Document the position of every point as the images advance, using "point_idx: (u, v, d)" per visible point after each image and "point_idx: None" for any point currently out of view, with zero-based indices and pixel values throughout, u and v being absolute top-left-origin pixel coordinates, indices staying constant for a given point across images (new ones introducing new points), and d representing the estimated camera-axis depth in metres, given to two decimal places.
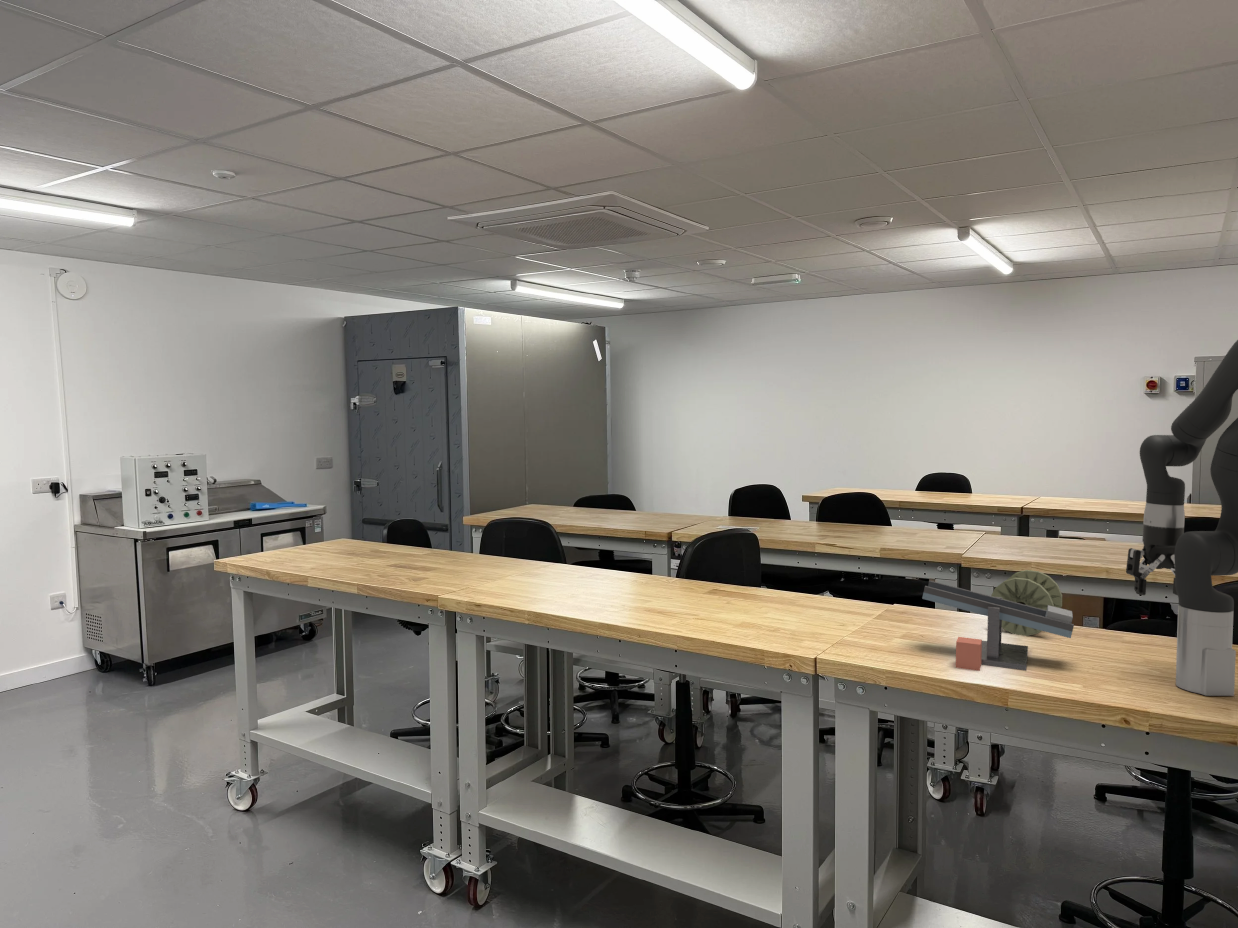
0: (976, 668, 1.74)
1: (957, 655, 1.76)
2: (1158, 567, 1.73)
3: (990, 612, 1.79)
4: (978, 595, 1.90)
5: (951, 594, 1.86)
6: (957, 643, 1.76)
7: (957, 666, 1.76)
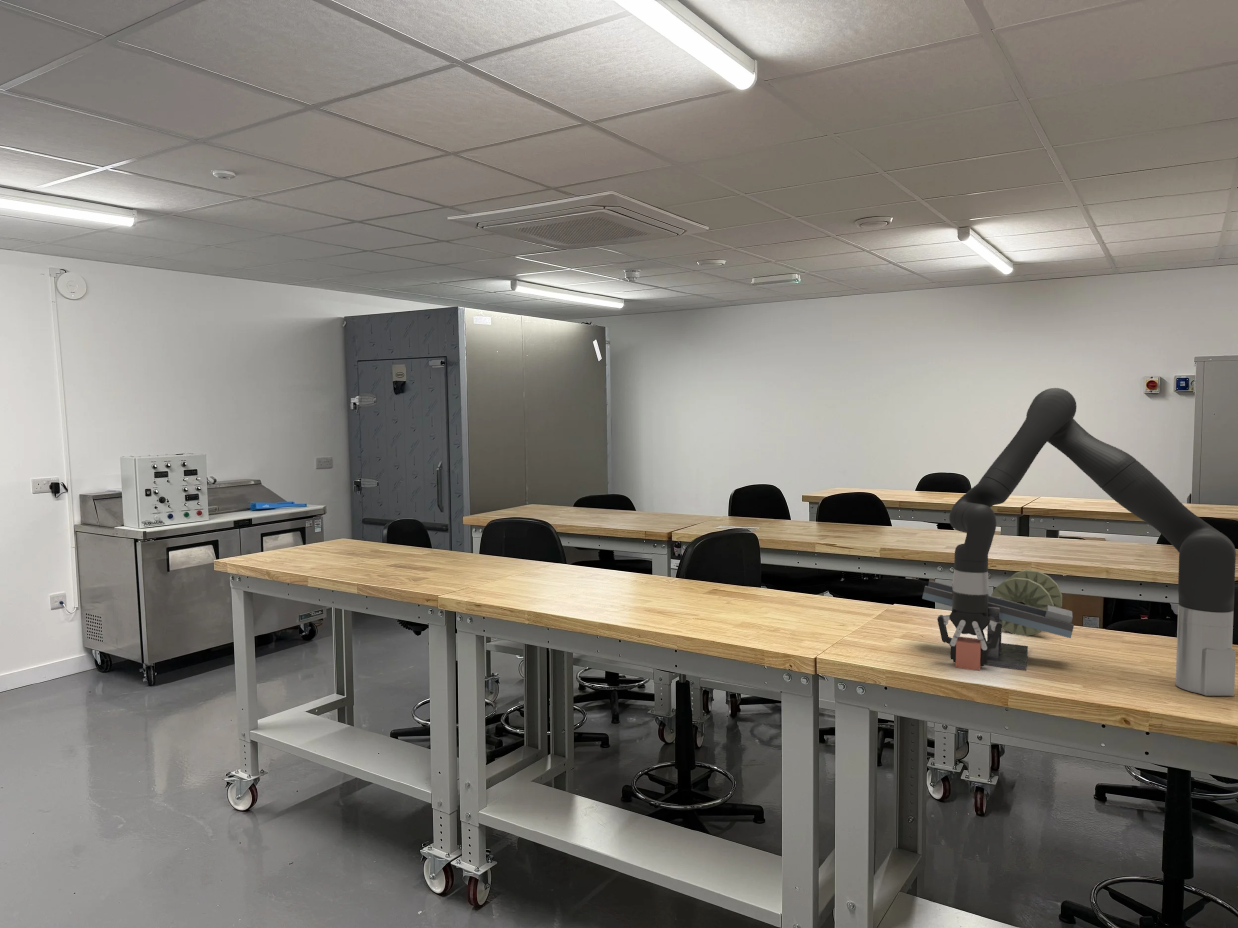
0: (976, 668, 1.74)
1: (957, 655, 1.76)
2: None
3: (990, 612, 1.79)
4: None
5: (951, 594, 1.86)
6: (957, 643, 1.76)
7: (957, 666, 1.76)
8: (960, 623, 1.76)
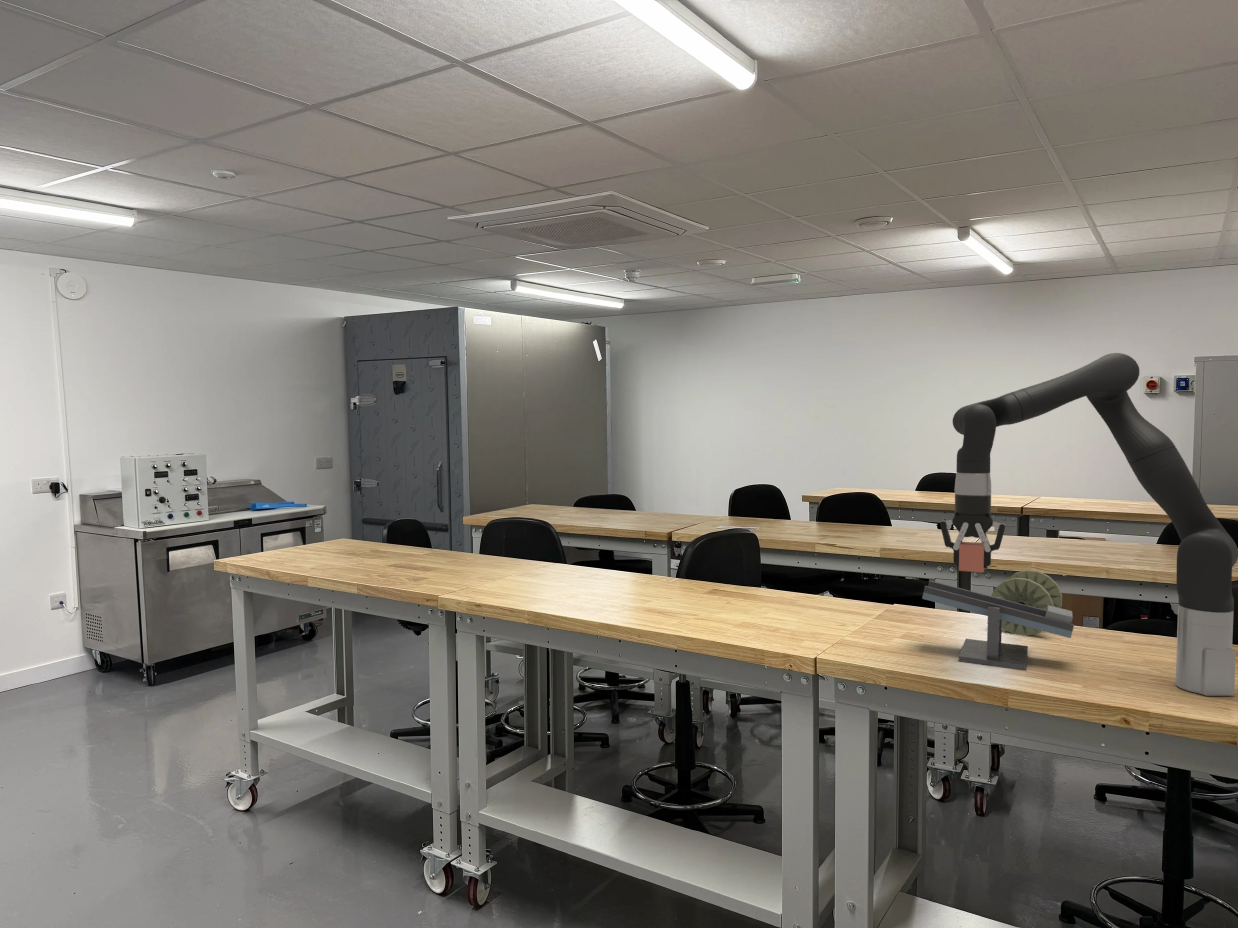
0: (979, 570, 1.73)
1: (960, 558, 1.75)
2: None
3: (990, 612, 1.79)
4: (978, 595, 1.90)
5: (951, 594, 1.86)
6: (960, 546, 1.75)
7: (960, 569, 1.75)
8: (963, 526, 1.75)
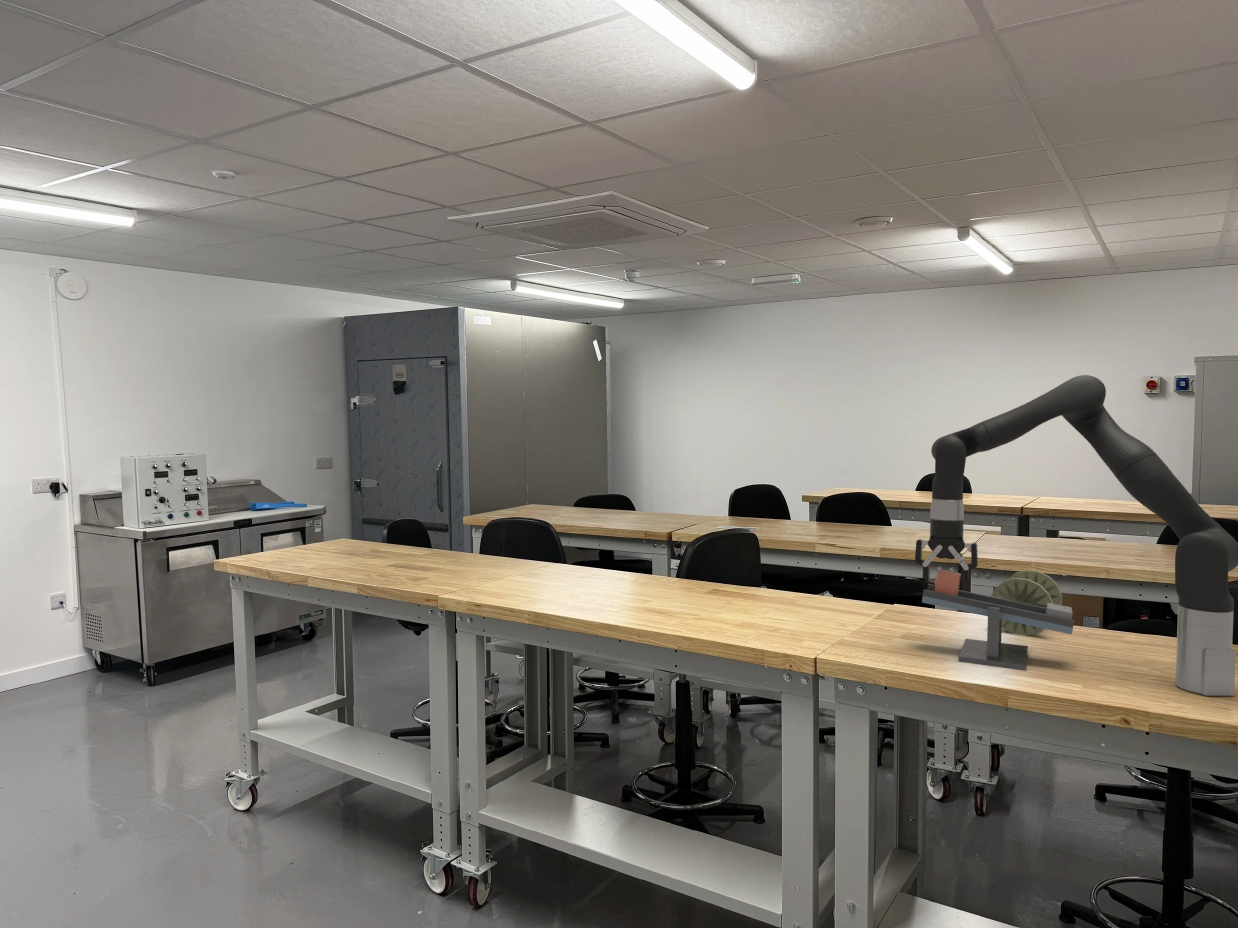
0: None
1: (936, 585, 1.89)
2: None
3: (990, 612, 1.79)
4: (978, 596, 1.90)
5: (950, 596, 1.86)
6: (938, 574, 1.89)
7: None
8: (937, 547, 1.89)
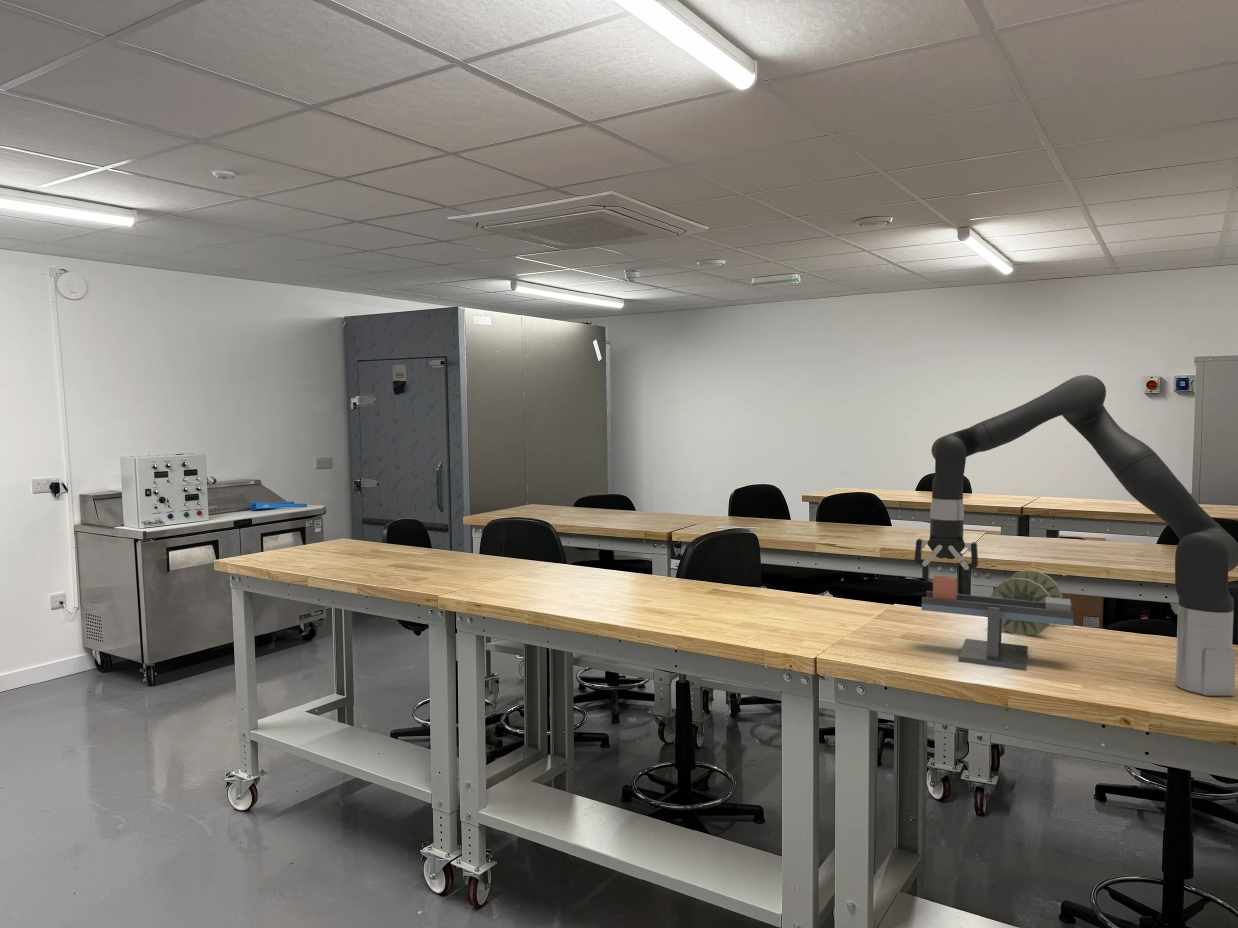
0: None
1: (934, 591, 1.89)
2: None
3: (990, 612, 1.79)
4: (977, 598, 1.90)
5: (949, 601, 1.86)
6: (934, 580, 1.89)
7: None
8: (937, 547, 1.89)
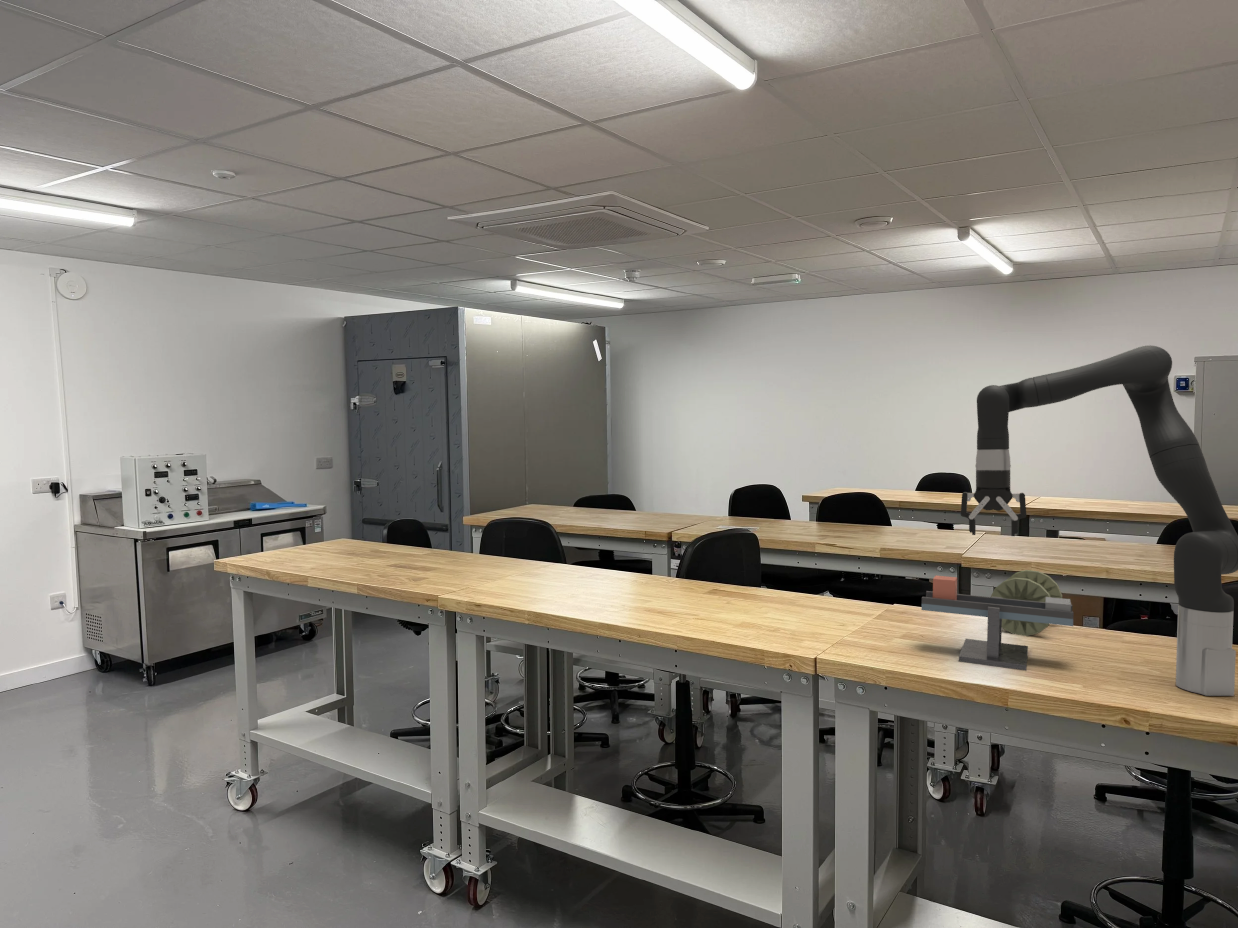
0: None
1: (934, 591, 1.89)
2: None
3: (990, 612, 1.79)
4: (977, 598, 1.90)
5: (949, 601, 1.86)
6: (934, 580, 1.89)
7: None
8: (984, 499, 1.86)
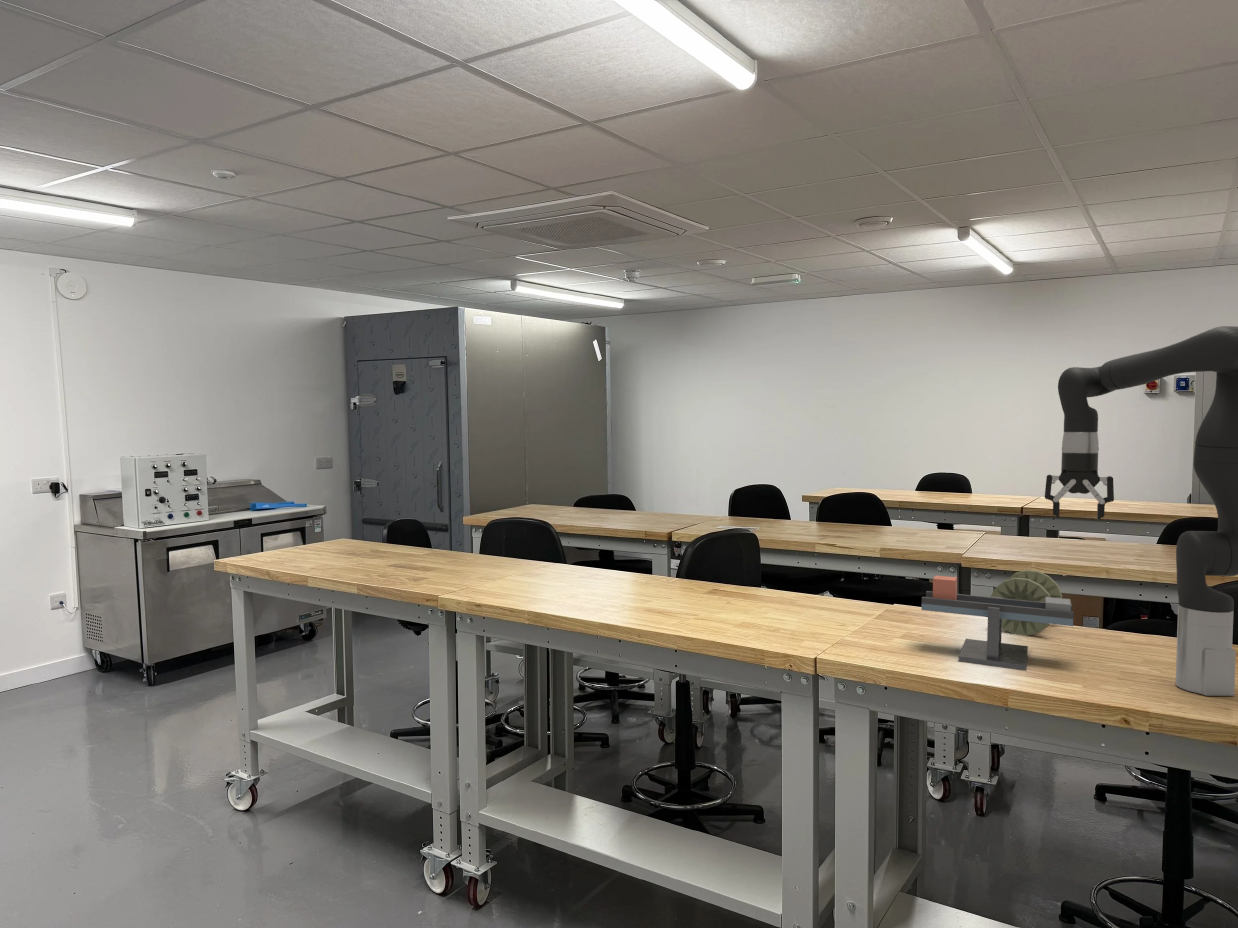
0: None
1: (934, 591, 1.89)
2: None
3: (990, 612, 1.79)
4: (977, 598, 1.90)
5: (949, 601, 1.86)
6: (934, 580, 1.89)
7: None
8: (1070, 482, 1.85)
